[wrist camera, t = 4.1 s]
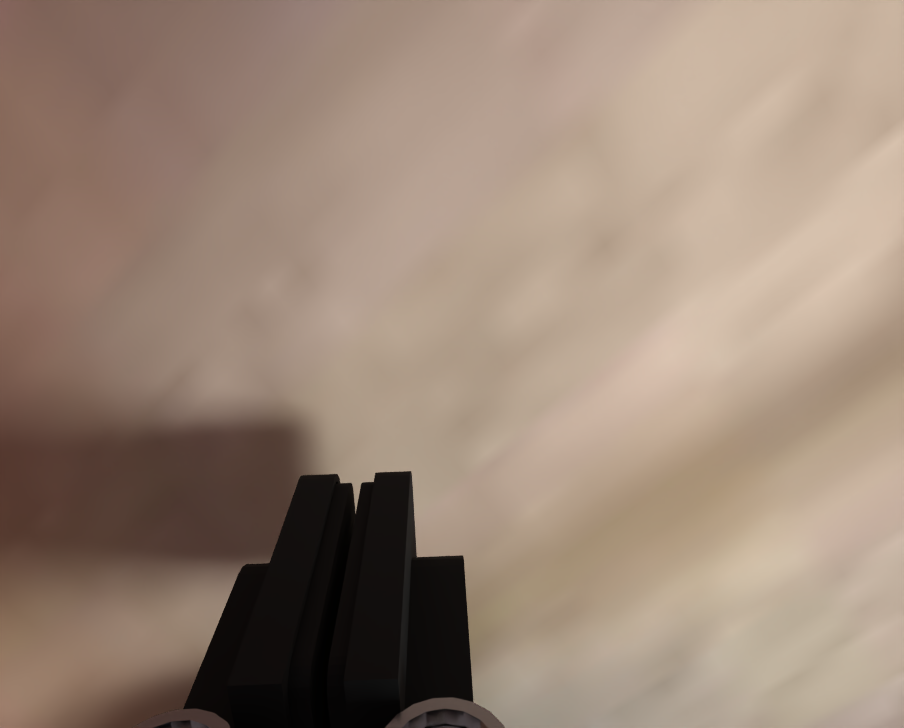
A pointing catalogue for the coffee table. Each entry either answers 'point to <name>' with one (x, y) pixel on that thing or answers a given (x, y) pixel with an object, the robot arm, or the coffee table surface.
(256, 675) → the robot arm
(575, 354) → the coffee table surface
